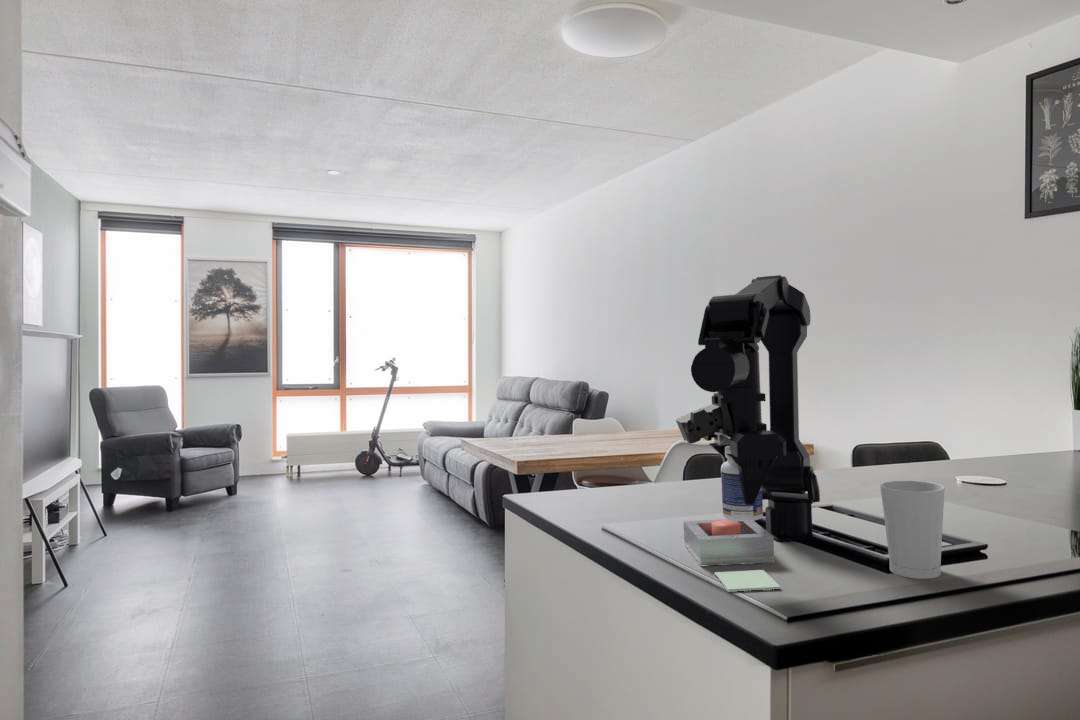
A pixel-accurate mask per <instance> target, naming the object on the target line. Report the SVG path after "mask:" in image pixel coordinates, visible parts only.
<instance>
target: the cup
mask: <svg viewBox="0 0 1080 720" xmlns="http://www.w3.org/2000/svg"><path fill="white" fill-rule="evenodd" d="M879 487H880V492H881V493H880V495H881V500H882V507H883V508H882V509H883V510H882V511H883V518H884V524H885V526H884V527H885V534H886V543H887V552H888V553H887V554H888V558H889V559H888V561H889V571H890V572H891V573H893V574H895V575H898V576H900V577H905V578H911V579H917V580H918V579H919V580H923V579H924V580H925V579H926V580H928V579H929V580H930V579H936V578H939V577H941V574H942V572H941V571H942V570H941V569H942V568H941V564H942V563H941V561H942V545H943V544H942V543H943V542H942V541H943V524H944V523H943V522H944V507H945V506H944V505H945V504H944V503H945V491H946V489H945V485H942V484H940V483H936V482H931V481H923V480H910V479H909V480H905V479H903V480H902V479H901V480H900V479H899V480H897V479H896V480H888V481H883V482H881V483H880V485H879Z"/></svg>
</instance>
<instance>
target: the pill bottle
mask: <svg viewBox="0 0 1080 720" xmlns="http://www.w3.org/2000/svg"><path fill="white" fill-rule="evenodd" d="M727 454H731V450H730V446H726V447H725V457H726V458H727V461H726V462H724V463H723V462H722V464H721V466H720V478H721V503H722V507H721V508H722V516H723V517H724V519H729V520H735V521H755V522H756V521H757V520H760V519H762V518H763V517H764V516H763V515H764V511H763V510H764V509H763V508H764V505H763V501H764V500H762V486H761V489H760V491H759V493H758V496H757V498H756V500H755V502H754V504H746V503H745V499H744V495H743V490H742V485H741V480H740V475H739V470H738V466H737V464H736V463H735V462H733V461H732V460H731V459H730V458H729V457H728V456H727Z"/></svg>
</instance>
